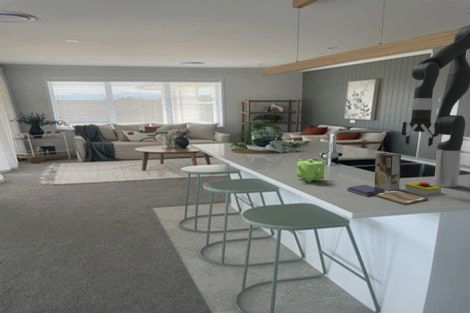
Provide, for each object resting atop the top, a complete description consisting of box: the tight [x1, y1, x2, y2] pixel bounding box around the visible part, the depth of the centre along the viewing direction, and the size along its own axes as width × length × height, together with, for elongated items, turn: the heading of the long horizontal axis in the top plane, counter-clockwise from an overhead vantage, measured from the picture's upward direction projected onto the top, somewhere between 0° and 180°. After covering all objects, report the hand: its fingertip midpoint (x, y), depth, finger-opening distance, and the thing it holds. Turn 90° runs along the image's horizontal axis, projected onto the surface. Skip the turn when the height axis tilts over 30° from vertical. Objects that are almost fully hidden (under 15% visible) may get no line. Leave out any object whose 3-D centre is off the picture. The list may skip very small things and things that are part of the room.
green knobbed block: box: [296, 158, 326, 183], centre depth 163 cm, size 15×14×11 cm
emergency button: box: [400, 181, 445, 197], centre depth 139 cm, size 9×4×15 cm
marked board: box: [374, 190, 429, 206], centre depth 129 cm, size 14×14×1 cm
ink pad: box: [346, 184, 386, 197], centre depth 139 cm, size 11×11×2 cm
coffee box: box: [373, 152, 402, 192], centre depth 144 cm, size 9×6×16 cm
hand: (418, 145), depth 141 cm, fingers open, 8 cm apart
